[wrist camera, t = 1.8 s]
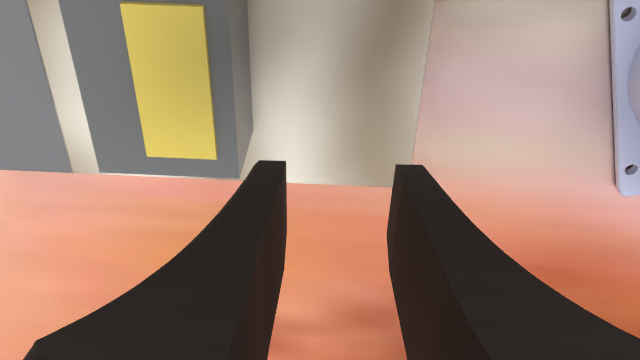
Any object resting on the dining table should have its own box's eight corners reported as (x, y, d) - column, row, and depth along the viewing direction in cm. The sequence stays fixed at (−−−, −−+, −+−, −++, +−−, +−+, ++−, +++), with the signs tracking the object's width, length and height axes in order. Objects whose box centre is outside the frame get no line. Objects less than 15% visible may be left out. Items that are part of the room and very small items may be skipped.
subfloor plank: (448, -135, 18) (454, -131, 17) (405, 172, 24) (407, 187, 23) (-276, -161, 18) (-312, -159, 17) (-121, 149, 25) (-141, 163, 24)
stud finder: (244, -53, 18) (224, -25, 15) (253, 130, 22) (238, 182, 19) (96, -59, 18) (46, -32, 15) (131, 125, 22) (97, 176, 19)
